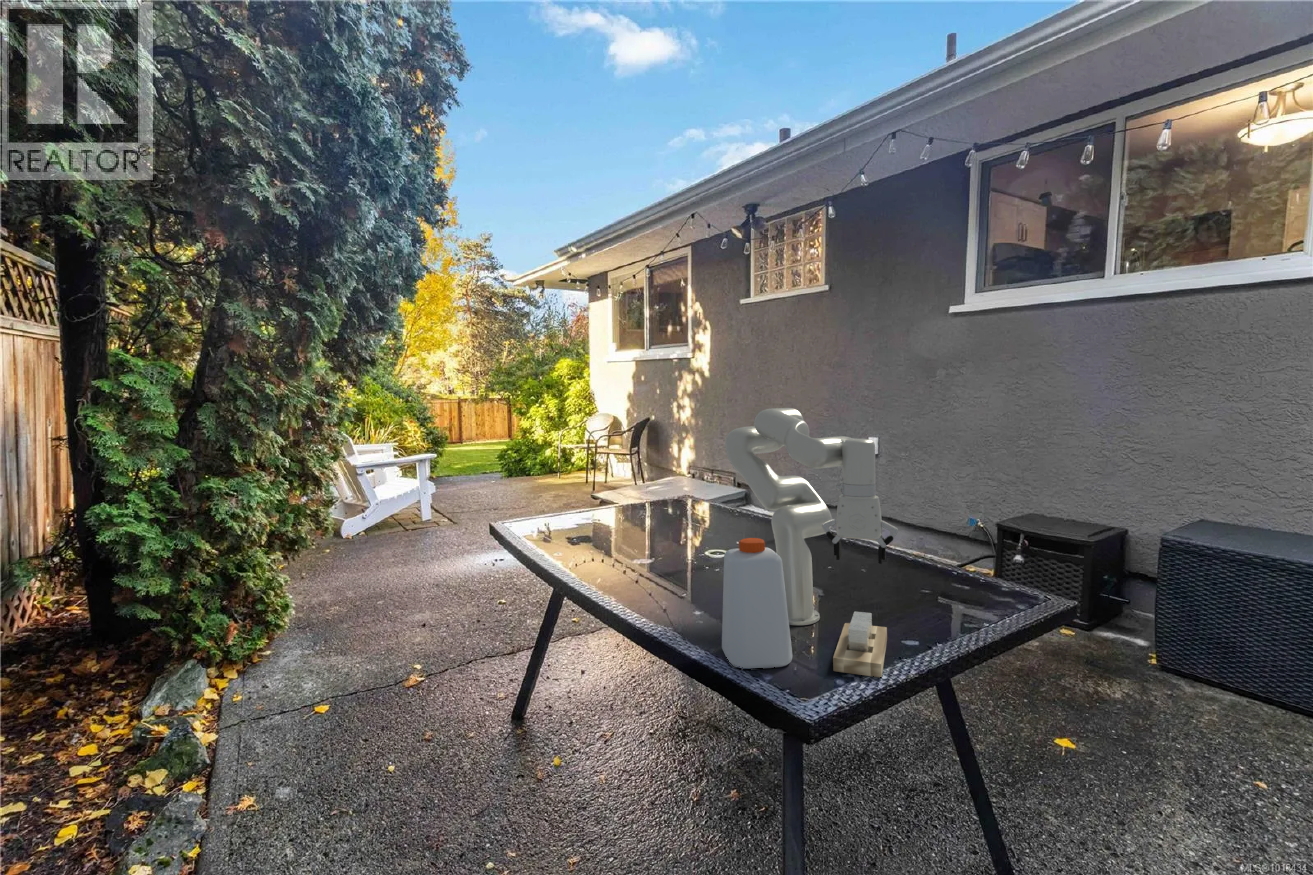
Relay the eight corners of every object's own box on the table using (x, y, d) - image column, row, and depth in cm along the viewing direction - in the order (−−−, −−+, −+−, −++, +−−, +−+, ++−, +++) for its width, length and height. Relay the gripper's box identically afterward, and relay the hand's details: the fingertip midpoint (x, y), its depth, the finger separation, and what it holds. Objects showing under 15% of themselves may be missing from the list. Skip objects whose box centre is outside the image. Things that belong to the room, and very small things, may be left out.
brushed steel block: (849, 663, 132) (848, 629, 131) (855, 643, 143) (854, 611, 142) (868, 666, 130) (866, 631, 130) (872, 645, 141) (871, 613, 140)
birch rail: (833, 671, 128) (833, 657, 128) (845, 634, 148) (844, 622, 148) (881, 677, 124) (881, 664, 124) (887, 639, 144) (886, 627, 144)
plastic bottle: (797, 668, 131) (793, 545, 129) (731, 673, 130) (726, 550, 128) (778, 641, 146) (773, 531, 145) (719, 646, 145) (714, 535, 143)
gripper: (819, 491, 139) (819, 561, 140) (896, 494, 131) (896, 568, 132) (824, 486, 146) (825, 553, 147) (899, 489, 138) (899, 559, 139)
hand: (859, 560), depth 140 cm, fingers open, 9 cm apart
